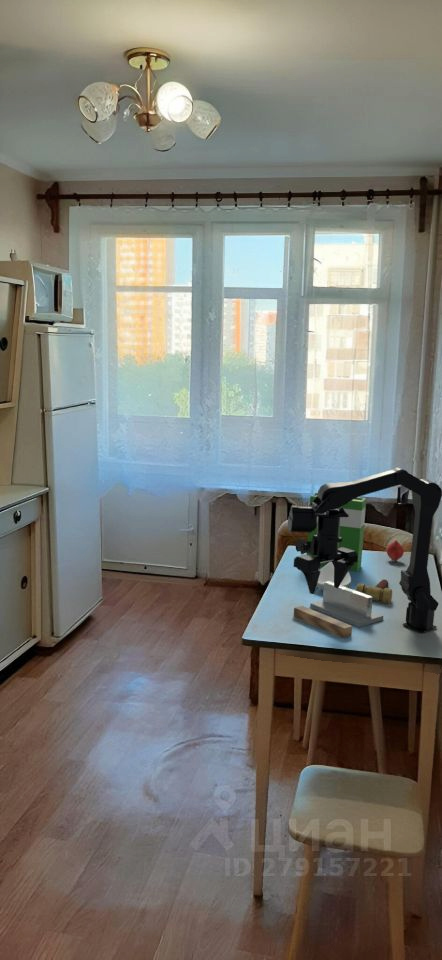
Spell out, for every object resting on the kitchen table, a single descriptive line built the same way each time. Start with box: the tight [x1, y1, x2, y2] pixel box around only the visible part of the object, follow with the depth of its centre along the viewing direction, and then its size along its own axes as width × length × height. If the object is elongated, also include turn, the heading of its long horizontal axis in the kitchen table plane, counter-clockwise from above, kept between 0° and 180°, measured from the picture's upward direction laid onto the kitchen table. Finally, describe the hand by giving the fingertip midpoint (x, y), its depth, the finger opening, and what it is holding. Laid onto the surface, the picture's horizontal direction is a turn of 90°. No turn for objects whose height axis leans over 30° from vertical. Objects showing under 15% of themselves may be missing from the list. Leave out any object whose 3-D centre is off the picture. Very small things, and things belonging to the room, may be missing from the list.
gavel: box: [355, 579, 393, 605], centre depth 218 cm, size 21×5×10 cm
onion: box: [386, 539, 404, 562], centre depth 253 cm, size 6×6×8 cm
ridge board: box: [309, 599, 384, 628], centre depth 198 cm, size 18×10×1 cm, turn 39°
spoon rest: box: [316, 562, 352, 592], centre depth 224 cm, size 24×12×7 cm, turn 162°
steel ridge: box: [322, 581, 373, 619], centre depth 198 cm, size 16×2×6 cm, turn 39°
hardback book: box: [306, 492, 367, 573], centre depth 244 cm, size 18×7×24 cm, turn 69°
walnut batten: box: [293, 605, 353, 639], centre depth 188 cm, size 18×3×3 cm, turn 39°
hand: (324, 590), depth 187 cm, fingers open, 9 cm apart
